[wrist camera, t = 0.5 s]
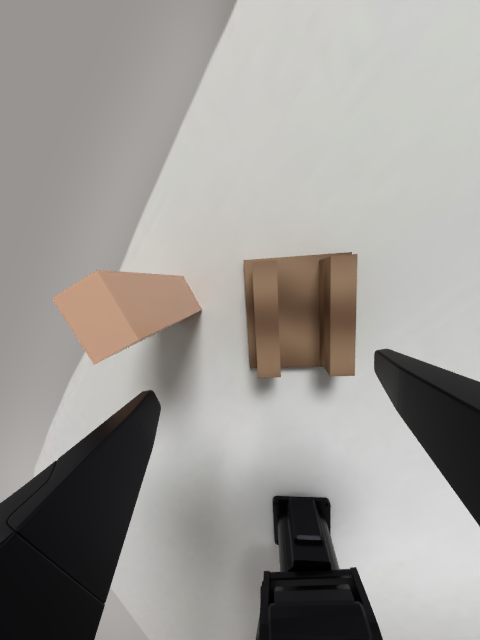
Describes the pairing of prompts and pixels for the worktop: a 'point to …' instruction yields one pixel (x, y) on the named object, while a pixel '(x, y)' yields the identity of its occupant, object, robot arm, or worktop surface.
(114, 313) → the clay block
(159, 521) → the worktop surface
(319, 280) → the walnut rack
